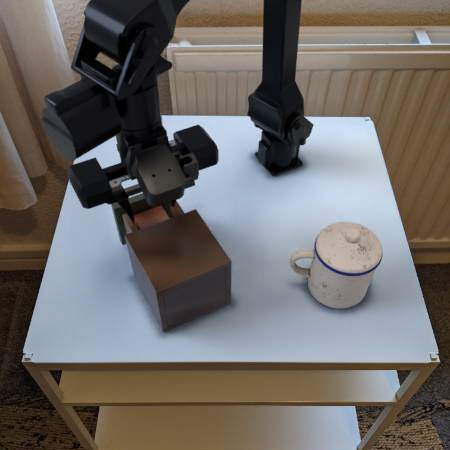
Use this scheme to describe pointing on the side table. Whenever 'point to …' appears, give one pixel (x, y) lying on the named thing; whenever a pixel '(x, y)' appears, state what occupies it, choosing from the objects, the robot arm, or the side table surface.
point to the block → (150, 217)
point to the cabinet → (180, 269)
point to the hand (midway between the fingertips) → (152, 211)
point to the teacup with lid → (340, 264)
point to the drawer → (137, 211)
